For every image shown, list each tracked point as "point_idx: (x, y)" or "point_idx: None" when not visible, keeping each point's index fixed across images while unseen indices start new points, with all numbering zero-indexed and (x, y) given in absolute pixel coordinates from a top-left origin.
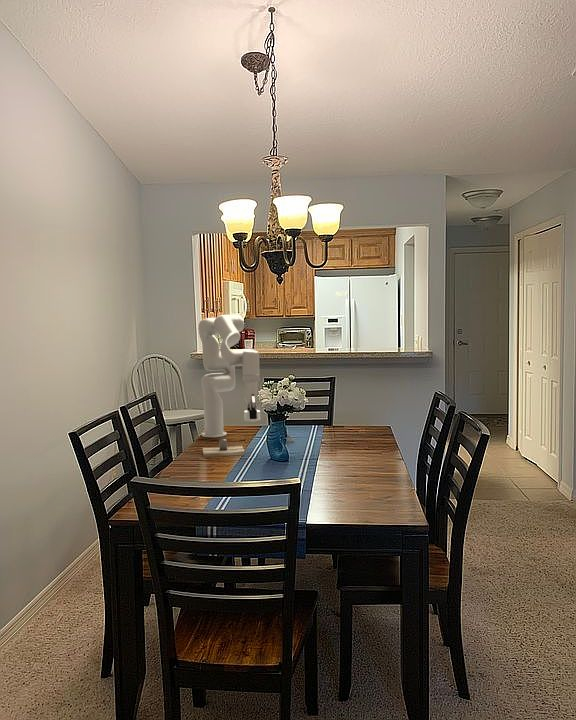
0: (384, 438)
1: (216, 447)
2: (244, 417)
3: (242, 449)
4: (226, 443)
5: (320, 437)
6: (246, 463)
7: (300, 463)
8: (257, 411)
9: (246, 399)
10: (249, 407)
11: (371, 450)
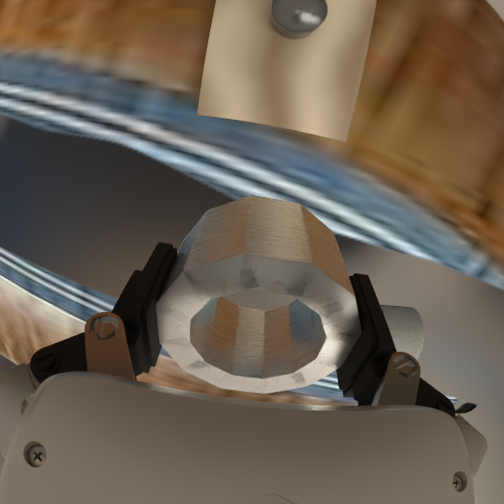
0: None
1: (367, 10)
2: (282, 213)
3: (252, 115)
4: (279, 26)
5: (347, 399)
6: (54, 101)
7: (42, 269)
8: (198, 368)
9: (73, 458)
10: (369, 362)
11: None
